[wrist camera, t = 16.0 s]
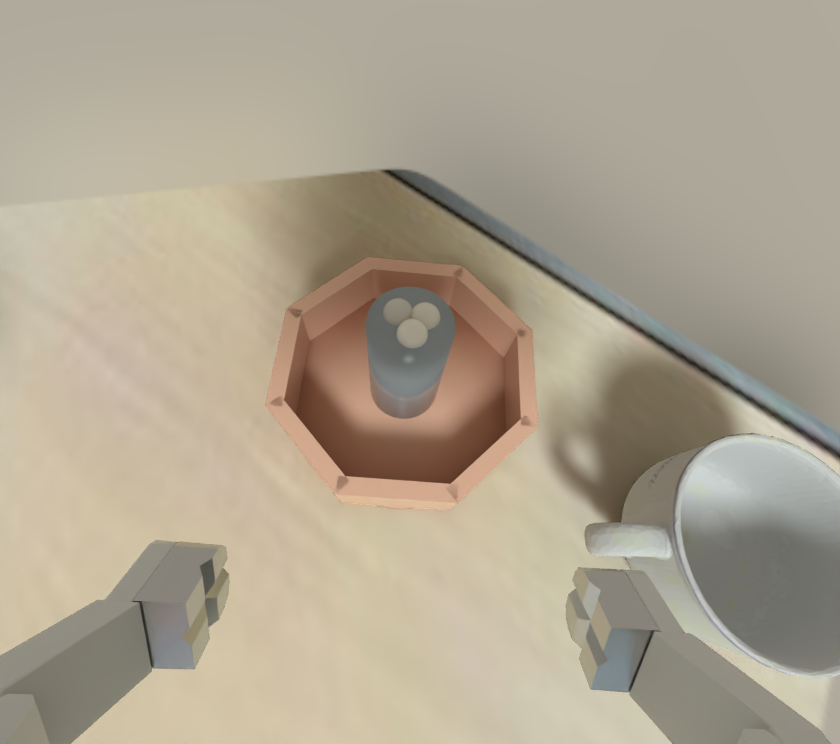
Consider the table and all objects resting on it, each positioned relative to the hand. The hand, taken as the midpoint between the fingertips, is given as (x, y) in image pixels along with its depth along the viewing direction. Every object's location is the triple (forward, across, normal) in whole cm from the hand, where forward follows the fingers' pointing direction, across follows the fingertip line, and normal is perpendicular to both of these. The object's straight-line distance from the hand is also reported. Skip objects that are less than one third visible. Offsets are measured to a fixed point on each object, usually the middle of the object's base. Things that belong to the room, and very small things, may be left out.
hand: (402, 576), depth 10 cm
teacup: (+14, -17, +11) cm, 25 cm away
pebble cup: (+20, 0, +4) cm, 20 cm away
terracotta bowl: (+20, 0, +4) cm, 21 cm away
